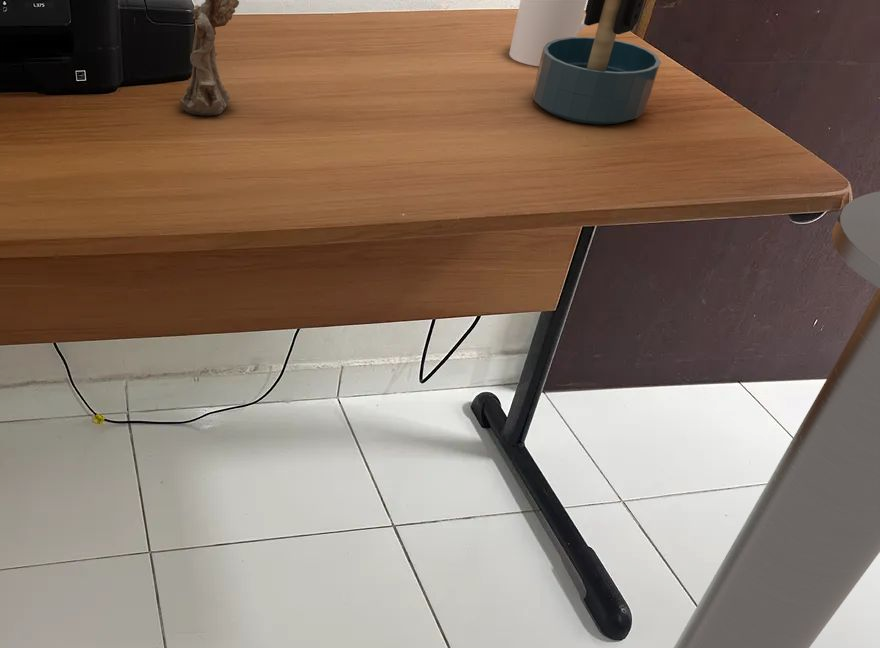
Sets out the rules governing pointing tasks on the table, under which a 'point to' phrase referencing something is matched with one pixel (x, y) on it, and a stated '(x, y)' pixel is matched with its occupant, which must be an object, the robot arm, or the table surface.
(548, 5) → the cup
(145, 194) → the table surface
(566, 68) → the bowl
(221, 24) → the figurine
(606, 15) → the stick
